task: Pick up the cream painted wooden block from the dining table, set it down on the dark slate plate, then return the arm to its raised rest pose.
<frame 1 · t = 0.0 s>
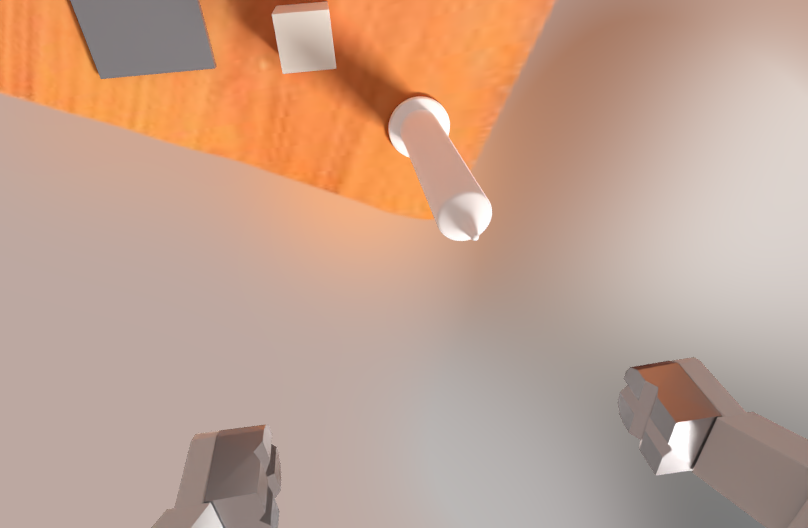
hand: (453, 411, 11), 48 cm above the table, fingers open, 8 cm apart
candle: (418, 126, 57), on the table
slate plate: (141, 10, 47), on the table
cream block: (306, 31, 50), on the table
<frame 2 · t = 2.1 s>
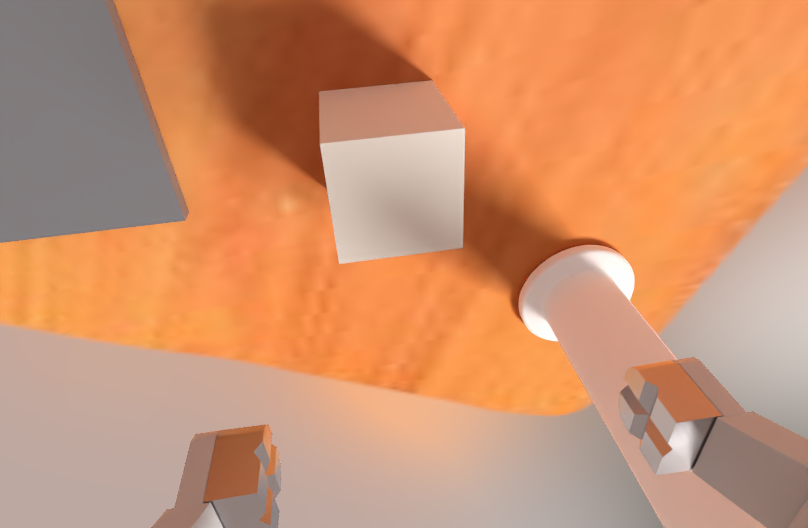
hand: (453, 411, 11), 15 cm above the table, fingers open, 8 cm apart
candle: (571, 289, 31), on the table
slate plate: (7, 110, 20), on the table
cream block: (380, 139, 23), on the table
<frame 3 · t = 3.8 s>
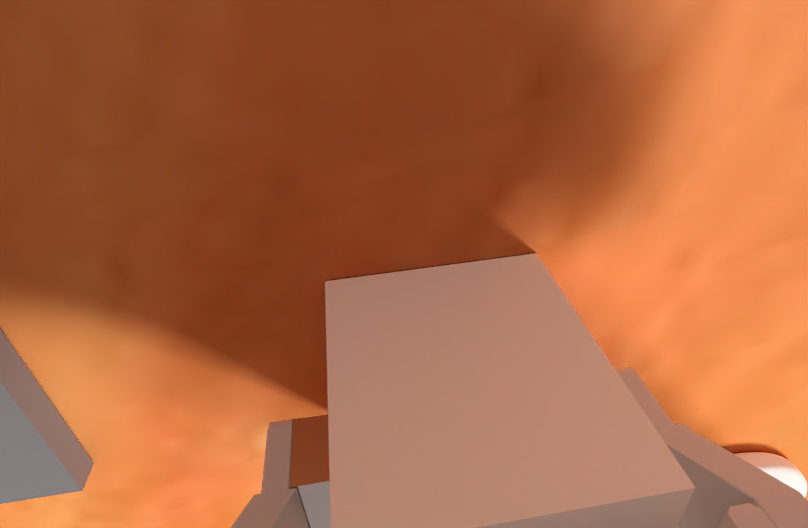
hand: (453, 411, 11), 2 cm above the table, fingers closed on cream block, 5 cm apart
candle: (703, 499, 20), on the table
cream block: (435, 345, 13), on the table, touching gripper
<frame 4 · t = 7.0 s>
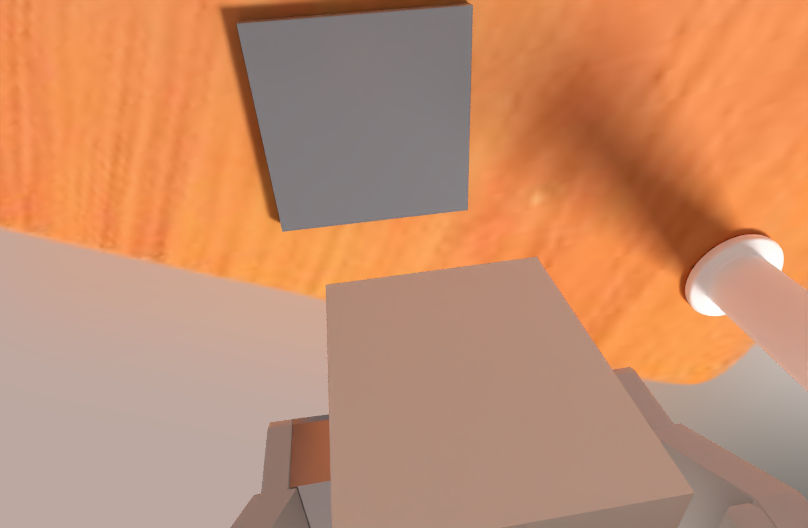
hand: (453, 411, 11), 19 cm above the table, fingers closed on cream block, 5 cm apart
candle: (728, 272, 37), on the table
slate plate: (366, 124, 27), on the table
cream block: (435, 348, 13), point 17 cm above the table, touching gripper
when the fingers open (4 cm above the table, at t = 10.3 s): cream block drops 1 cm, resting on slate plate.
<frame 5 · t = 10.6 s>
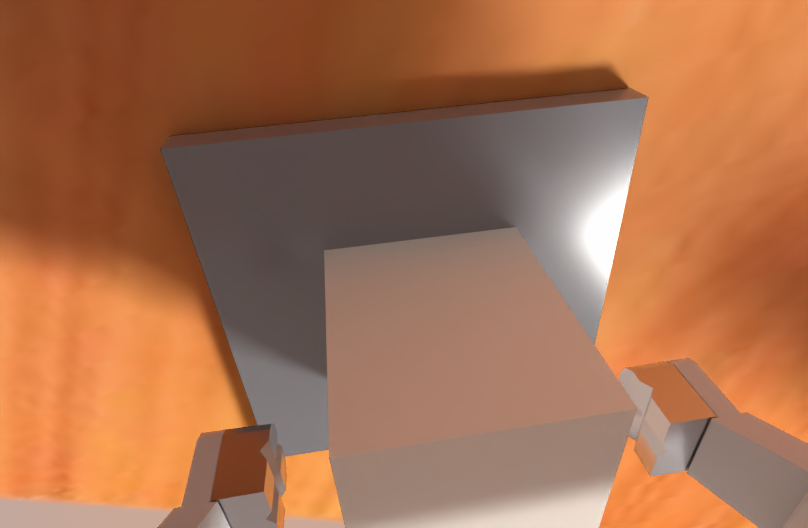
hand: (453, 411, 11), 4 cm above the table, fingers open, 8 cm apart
slate plate: (418, 294, 15), on the table
cream block: (424, 313, 14), point 1 cm above the table, touching slate plate
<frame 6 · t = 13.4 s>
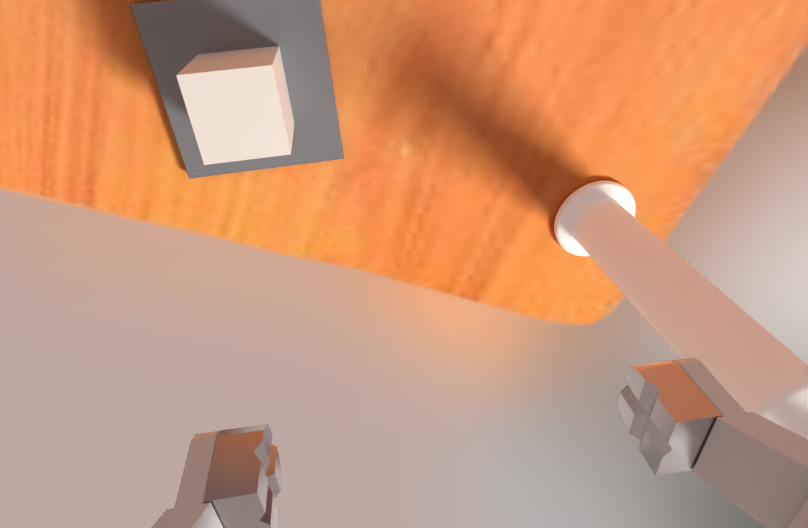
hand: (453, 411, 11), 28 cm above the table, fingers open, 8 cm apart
candle: (591, 216, 43), on the table
slate plate: (249, 86, 33), on the table
cream block: (248, 90, 33), point 1 cm above the table, touching slate plate
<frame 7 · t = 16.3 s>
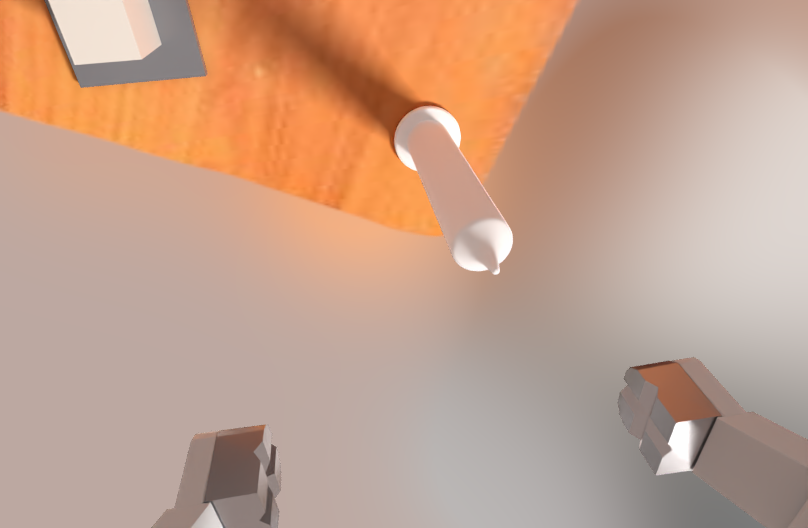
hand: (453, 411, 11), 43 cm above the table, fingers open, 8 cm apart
candle: (426, 137, 53), on the table
slate plate: (124, 13, 43), on the table
cream block: (121, 15, 42), point 1 cm above the table, touching slate plate
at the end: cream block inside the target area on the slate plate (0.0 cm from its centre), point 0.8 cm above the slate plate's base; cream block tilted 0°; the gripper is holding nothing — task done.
